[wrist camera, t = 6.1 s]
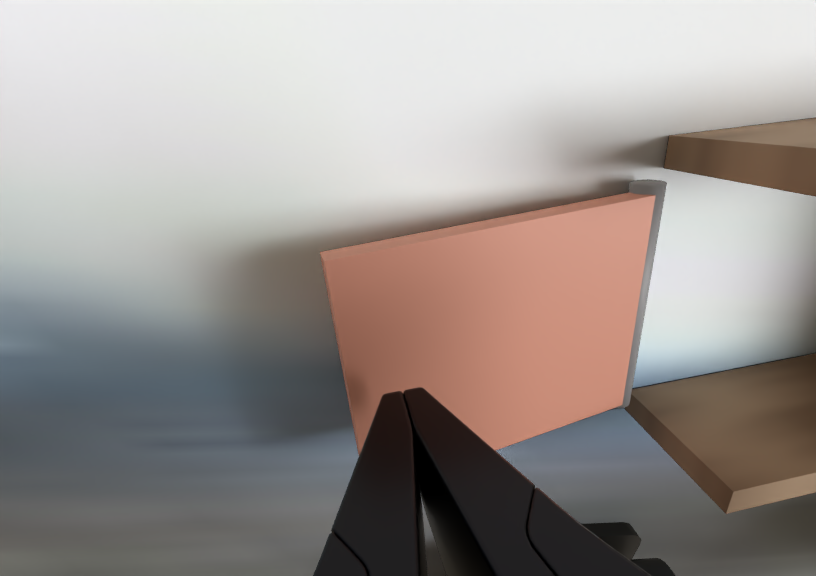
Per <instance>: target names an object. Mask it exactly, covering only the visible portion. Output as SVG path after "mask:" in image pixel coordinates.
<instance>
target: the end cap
mask: <svg viewBox="0 0 816 576" xmlns="http://www.w3.org/2000/svg"><path fill="white" fill-rule="evenodd" d="M581 525H583V526H584V527H585V528H587V529H588V530H589V531H591V532H592V533H593V534H595V535H596V536H597V537H599V538H600V539H601V540H603V541H604V542H605V543H607V544H608V545H610V546H611V547H612V548H614V549H615V550H616V551H618V552H619V553H621V554H622V555H623V556H625V557H626V558H628V559H629V560H630V561H632V562H633V563H635V564H636V565H637V566H639V567H640V568H642V569H643V570H644V571H646V572H647V573H649V574H650V575H651V576H675V574H674V573H673V572H672V570H671V569H670V567H669V566H668V565H667V564H666V563H665V562H664V561H662V560H661V559H658V558H650V559H635V560H631V559H632V558H633V556H634V554H635V552H636V550H637V549H638V547H639V545H640V542H641V539H640V537H639V536H638V535H637V533H636V532H635V530H634V529H633V527H632V526H631V525H630V524H629V523H624V522H618V523H594V524H581Z"/></svg>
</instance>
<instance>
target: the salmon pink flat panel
mask: <svg viewBox="0 0 816 576" xmlns="http://www.w3.org/2000/svg"><path fill="white" fill-rule="evenodd" d="M666 184H667V183H666V182H664V181H660V180H636V181H632V182H630V185H629V192H628V193H624V194H619V195H613V196H608V197H603V198H598V199H593V200H588V201H582V202H577V203H572V204H567V205H562V206H556V207H551V208H546V209H541V210H536V211H530V212H525V213H520V214H515V215H510V216H504V217H499V218H494V219H489V220H484V221H479V222H473V223H468V224H463V225H458V226H453V227H447V228H442V229H437V230H432V231H427V232H421V233H416V234H411V235H406V236H401V237H396V238H390V239H385V240H380V241H375V242H370V243H364V244H359V245H354V246H349V247H344V248H338V249H333V250H328V251H323V252H320V256H321V262H322V267H323V272H324V277H325V282H326V288H327V293H328V298H329V303H330V308H331V314H332V319H333V324H334V329H335V334H336V339H337V345H338V350H339V355H340V360H341V365H342V371H343V376H344V381H345V386H346V391H347V397H348V402H349V407H350V412H351V417H352V423H353V428H354V433H355V438H356V443H357V449H358V454H359V455H360V453H361V450H362V447H363V445H364V442H365V439H366V437H367V434H368V431H369V429H370V426H371V424H372V421H373V418H374V416H375V413H376V410H377V408H378V405H379V402H380V400H381V397H382V395H383V394H385V393H390V392H396V391H401V392H402V393H403V392H404V390H406V389H412V388H417V387H422V388H424V389H425V390H426V391H427V392H429V393H430V394H431V395H432V396H433V397H434V398H435V399H437V400H438V401H439V402H440V403H441V404H442V405H443V406H445V407H446V408H447V409H448V410H449V411H450V412H451V413H453V414H454V415H455V416H456V417H457V418H458V419H460V420H461V421H462V422H463V423H464V424H465V425H466V426H468V427H469V428H470V429H471V430H472V431H473V432H474V433H476V434H477V435H478V436H479V437H480V438H481V439H482V440H484V441H485V442H486V443H487V444H488V445H489V446H490V447H492V448H493V449H494V450H498V449H501V448H504V447H506V446H509V445H512V444H515V443H518V442H520V441H523V440H526V439H529V438H532V437H534V436H537V435H540V434H543V433H546V432H548V431H551V430H554V429H557V428H560V427H562V426H565V425H568V424H571V423H574V422H576V421H579V420H582V419H585V418H588V417H590V416H593V415H596V414H599V413H601V412H604V411H607V410H610V409H613V408H625V407H627V406H628V405H629V404H630V398H631V392H632V386H633V380H634V374H635V369H636V363H637V357H638V351H639V345H640V339H641V333H642V327H643V321H644V315H645V309H646V303H647V297H648V291H649V285H650V279H651V273H652V267H653V261H654V255H655V250H656V244H657V238H658V232H659V226H660V220H661V214H662V208H663V202H664V196H665V190H666Z"/></svg>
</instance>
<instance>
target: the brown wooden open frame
mask: <svg viewBox="0 0 816 576" xmlns="http://www.w3.org/2000/svg"><path fill="white" fill-rule="evenodd" d="M664 168H666V169H671V170H677V171H682V172H687V173H693V174H698V175H703V176H709V177H714V178H720V179H725V180H730V181H736V182H741V183H746V184H752V185H757V186H763V187H768V188H773V189H779V190H784V191H789V192H795V193H800V194H805V195H811V196H816V118H810V119H802V120H794V121H786V122H777V123H769V124H761V125H752V126H744V127H736V128H728V129H719V130H711V131H703V132H694V133H686V134H678V135H670V136H669V140H668V146H667V152H666V158H665V164H664ZM625 410H626V411H627V412H628V413H629V414H630V415H631V416H632V417H633V418H634V419H635V420H636V421H637V422H638V423H639V424H640V425H641V426H642V427H643V428H644V429H645V431H646V432H647V433H648V434H649V435H650V436H651V437H652V438H653V439H654V440H655V441H656V442H657V443H658V444H659V445H660V446H661V447H662V448H663V449H664V450H665V451H666V452H667V453H668V454H669V455H670V456H671V457H672V458H673V459H674V461H675V462H676V463H677V464H678V465H679V466H680V467H681V468H682V469H683V470H684V471H685V472H686V473H687V474H688V475H689V476H690V477H691V478H692V479H693V480H694V481H695V482H696V483H697V484H698V485H699V486H700V487H701V488H702V489H703V491H704V492H705V493H706V494H707V495H708V496H709V497H710V498H711V499H712V500H713V501H714V502H715V503H716V504H717V505H718V506H719V507H720V508H721V509H722V510H723V511H724V512H725V513H726V514H727V513H732V512H736V511H740V510H744V509H748V508H752V507H757V506H761V505H765V504H769V503H773V502H777V501H782V500H786V499H790V498H794V497H798V496H802V495H807V494H811V493H815V492H816V353H815V354H810V355H805V356H800V357H795V358H790V359H784V360H779V361H774V362H769V363H764V364H759V365H754V366H749V367H744V368H738V369H733V370H728V371H723V372H718V373H713V374H708V375H703V376H698V377H692V378H687V379H682V380H677V381H672V382H667V383H662V384H657V385H652V386H646V387H641V388H636V389H632V392H631V398H630V404H629V405H628V406H627V407H625Z"/></svg>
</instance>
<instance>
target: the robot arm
mask: <svg viewBox="0 0 816 576" xmlns="http://www.w3.org/2000/svg"><path fill="white" fill-rule="evenodd" d="M420 493H421V494H420ZM421 497H422V501H423V505H424V508H425V511H426V515H427V518H428V521H429V524H430V527H431V530H432V533H433V536H434V539H435V542H436V545H437V548H438V551H439V554H440V557H441V560H442V563H443V566H444V569H445V572H446V575H447V576H651V575H650V574H649V573H647V572H646V571H644V570H643V569H642V568H640V567H639V566H637V565H636V564H635V563H633V562H632V561H630V560H629V559H628V558H626V557H625V556H623V555H622V554H621V553H619V552H618V551H616V550H615V549H614V548H612V547H611V546H610V545H608V544H607V543H605V542H604V541H603V540H601V539H600V538H599V537H597V536H596V535H595V534H593V533H592V532H591V531H589V530H588V529H587V528H585V527H584V526H583V525H581V524H580V523H579V522H578V521H577V520H575V519H574V518H573V517H572V516H570V515H569V514H568V513H567V512H566V511H564V510H563V509H562V508H561V507H560V506H558V505H557V504H556V503H555V502H554V501H552V500H551V499H550V498H549V497H548V496H547V495H546V494H544V493H543V492H542V491H541V490H540V489H539V488H535V485H534V484H533V483H532V482H531V481H529V480H528V479H527V478H526V477H525V476H524V475H522V474H521V473H520V472H519V471H518V470H517V469H516V468H514V467H513V466H512V465H511V464H510V463H509V462H508V461H506V460H505V459H504V458H503V457H502V456H501V455H500V454H498V453H497V452H496V451H495V450H494V449H493V448H492V447H490V446H489V445H488V444H487V443H486V442H485V441H484V440H482V439H481V438H480V437H479V436H478V435H477V434H476V433H474V432H473V431H472V430H471V429H470V428H469V427H468V426H466V425H465V424H464V423H463V422H462V421H461V420H460V419H458V418H457V417H456V416H455V415H454V414H453V413H451V412H450V411H449V410H448V409H447V408H446V407H445V406H443V405H442V404H441V403H440V402H439V401H438V400H437V399H435V398H434V397H433V396H432V395H431V394H430V393H429V392H427V391H426V390H425V389H424V388H422V387H417V388H412V389H406V390H404V392H403V393H402V392H401V391H396V392H390V393H385V394H383V395H382V397H381V400H380V402H379V405H378V408H377V410H376V413H375V416H374V418H373V421H372V424H371V426H370V429H369V431H368V434H367V437H366V439H365V442H364V445H363V447H362V450H361V453H360V455H359V458H358V461H357V463H356V466H355V468H354V471H353V474H352V476H351V479H350V482H349V484H348V487H347V490H346V492H345V495H344V498H343V500H342V503H341V506H340V508H339V511H338V513H337V516H336V519H335V521H334V524H333V527H332V530H331V531H332V533H330V534H329V537H328V539H327V542H326V545H325V547H324V550H323V553H322V555H321V558H320V560H319V562H318V565H317V567H316V570H315V572H314V575H313V576H428V573H427V561H426V548H425V536H424V523H423V512H422V503H421Z"/></svg>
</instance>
